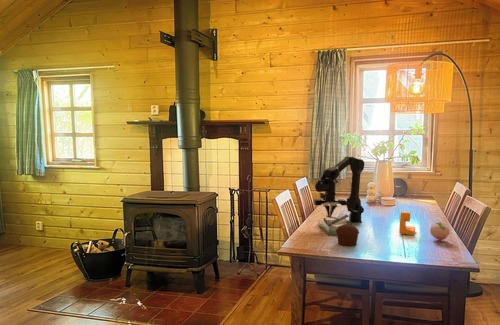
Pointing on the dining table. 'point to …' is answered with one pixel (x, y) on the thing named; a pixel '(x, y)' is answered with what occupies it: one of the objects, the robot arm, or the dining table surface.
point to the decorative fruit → (439, 231)
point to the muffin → (347, 235)
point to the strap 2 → (337, 220)
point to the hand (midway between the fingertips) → (329, 216)
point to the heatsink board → (332, 226)
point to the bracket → (403, 228)
